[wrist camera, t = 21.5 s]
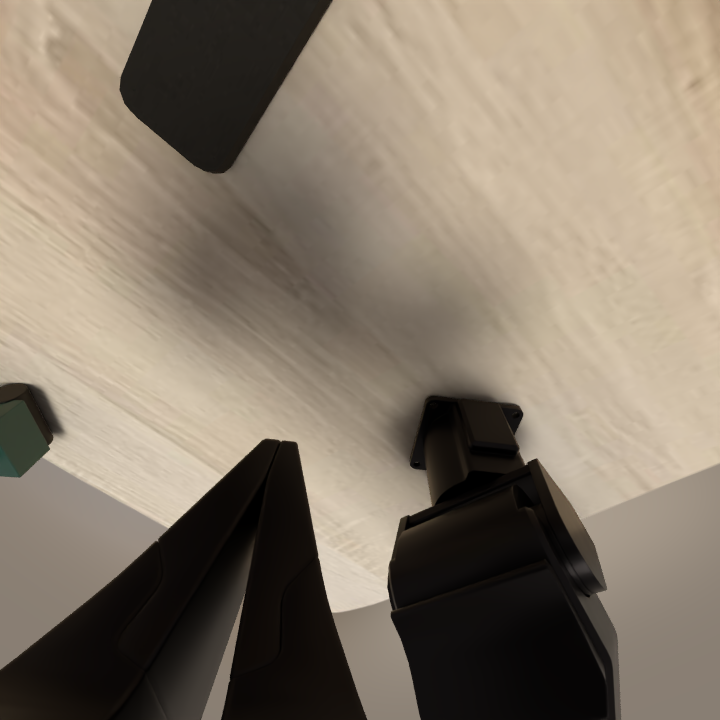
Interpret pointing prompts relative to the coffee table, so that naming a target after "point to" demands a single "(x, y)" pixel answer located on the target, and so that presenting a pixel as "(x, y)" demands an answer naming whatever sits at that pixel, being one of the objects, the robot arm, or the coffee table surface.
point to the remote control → (213, 70)
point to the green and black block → (21, 431)
